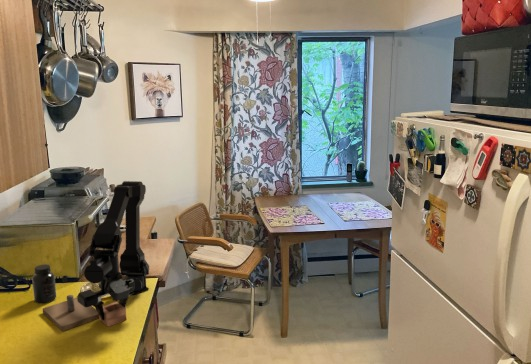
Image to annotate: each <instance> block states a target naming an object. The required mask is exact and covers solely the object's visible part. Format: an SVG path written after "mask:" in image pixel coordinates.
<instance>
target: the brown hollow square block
mask: <svg viewBox="0 0 531 364" xmlns="http://www.w3.org/2000/svg"><path fill="white" fill-rule="evenodd" d="M126 308H127V307H126V306H125V307H123V306H122V305H121V304H119V301H114V302H111V303H109V304H106V305H105V304H104V305H103V310H104V320H102V319H101V317H100V315H99V318H98V319H99V321H100V322H102V323H103V324H104V325H105V326H106V327H108V328H109V327H112V326H114V325H116V324H119V323H122V322H125V321H127V309H126Z"/></svg>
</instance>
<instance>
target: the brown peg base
mask: <svg viewBox="0 0 531 364" xmlns="http://www.w3.org/2000/svg"><path fill="white" fill-rule="evenodd" d="M42 313H43V314H44V315H45V317H47V318H48V319H49V321H51V322H52V323H53V324H54V325H55V326H56V327H57V328H58V329H59V330H60V332H65V331H68V330H70V329H72V328H76V327H78V326H81V325H83V324H86V323H89V322H92V321H95V320H98V319H99V314H98V312H97V310H96V308H95V307H94V306H90V307H84V306H83V305H81V304H80V303H79V302H78V300H77V297H74V295H73V294H69V295H66V300H64V301H62V302H59V303H58V302H57V303H55V304H52V305H49V306H45V307H43V308H42Z"/></svg>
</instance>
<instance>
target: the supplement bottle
mask: <svg viewBox="0 0 531 364" xmlns="http://www.w3.org/2000/svg"><path fill="white" fill-rule="evenodd" d="M31 281H32V290H33V298H34V302H35V303H36V304H38V305H39V304H41V305H42V304H48V303H52V302H53V301H55V300H56V298H57V289H56V278H55V273H54V272H52V269H51V265H50V264H45V263H44V264H40V265H36V266H35V267H34V275H33V276H32V278H31Z"/></svg>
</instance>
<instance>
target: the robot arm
mask: <svg viewBox="0 0 531 364" xmlns="http://www.w3.org/2000/svg"><path fill="white" fill-rule="evenodd" d="M146 192H147V187H146V185H145V184H144V183H143V182H142V181H135V180H134V181H133V180H132V181H130V180H128V181H127V180H124V181H122V183H121V184H120V183H119V184H116V186H115V187H114V188H113V196H112V198H111V201H110V205H109V208H108V210H107V213H106V216H105V219H104V221H103V222H101V223H100V224H99V225H98V226H97V227H96V230H95V231H94V233H93V235H92V238H91V244H90V247H89V252H88V256H89V257H93V258H91V259H90V260H89V264H88V265H87V266H86V267H85V269H84V271H83V275H84V278H85V279H86V281H88V282H89V283H91V284H98V283H99V284H98V288H99V289H100V290H98V291H97V290H96V291H95V292H94V291H93V290H92V289H87V290H84V291H81V292H78V295H77V296H76V298H77V300H78V302H79V303H80V304H81V305H83V306H84V307H90V306H92V307H94V308H95V309H96V310H97V312H98V314H99V315H100V317H101V319H102V320H104V310H103V306H104V305H105V302H104V301H102V297H105V296H108V295H110V297H111V298H112V300H113V301H114V302H118V303H119V304H121V305H122V306H123V307H125V308H126V306H127V303H128V300H129V298H130V297H131V296H132V295H133V296H134V295H137V294H141V293H143V292H146V291H149V290H150V289H149V287H147V277H146V276H147V275H148V276H149V275H150V264H149V263H148V262H147V260H146V259H145V253H144V252H143V250H142V248H141V246H140V245H141V244H140V242H141V241H140V240H141V239H140V237H141V235H140V233H141V232H140V231H141V230H140V218H141V217H140V213H141V212H140V208H141V207H140V206H141V205H142V203H143V201H144V200H145V194H146ZM124 215H125V216H124ZM124 217H125V249H124V250H123V252H122V253H121V254H120V256H119V252H120V249H121V245H122V241H123V238H122V232H121V229H120V227H121V224H122V221H123V219H124ZM119 258H120V260H119ZM124 276H125V278H123V277H124Z"/></svg>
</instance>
